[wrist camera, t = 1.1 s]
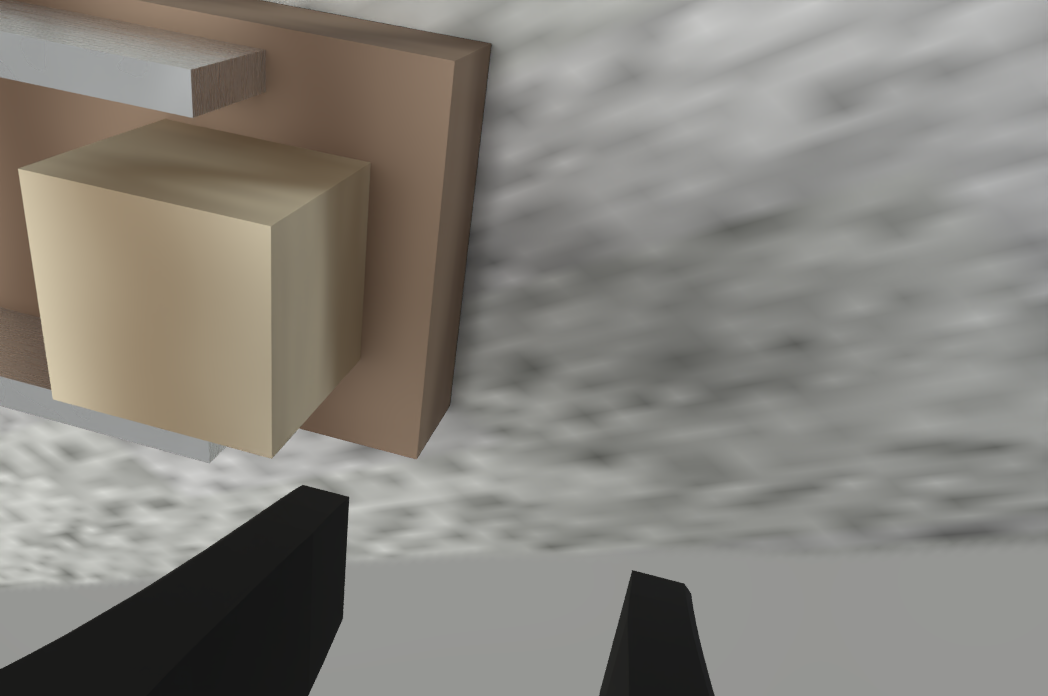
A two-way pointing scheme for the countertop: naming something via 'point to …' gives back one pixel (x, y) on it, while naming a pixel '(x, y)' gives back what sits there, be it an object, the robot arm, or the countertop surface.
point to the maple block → (199, 279)
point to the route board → (330, 127)
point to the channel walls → (127, 77)
